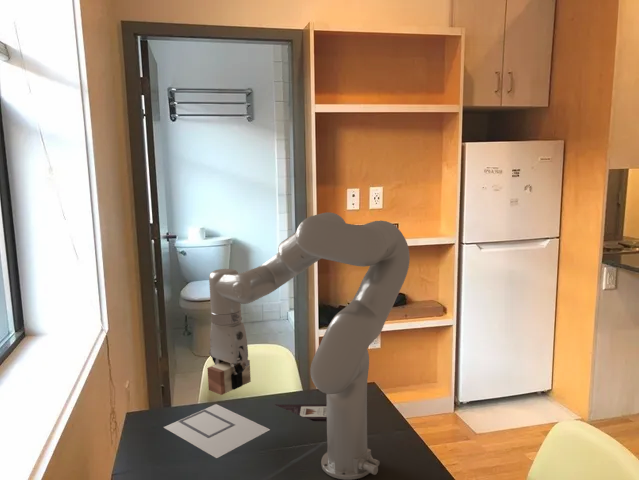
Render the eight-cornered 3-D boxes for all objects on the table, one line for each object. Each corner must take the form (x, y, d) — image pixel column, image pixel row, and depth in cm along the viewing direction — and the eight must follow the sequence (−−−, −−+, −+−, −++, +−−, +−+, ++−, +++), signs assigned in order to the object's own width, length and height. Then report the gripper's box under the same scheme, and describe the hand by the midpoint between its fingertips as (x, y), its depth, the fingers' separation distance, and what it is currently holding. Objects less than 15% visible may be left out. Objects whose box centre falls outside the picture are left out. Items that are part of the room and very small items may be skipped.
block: (238, 377, 142) (236, 356, 141) (250, 381, 139) (249, 360, 138) (208, 390, 134) (207, 367, 133) (221, 395, 131) (220, 372, 130)
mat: (270, 431, 142) (270, 429, 142) (216, 460, 129) (216, 457, 128) (216, 405, 158) (216, 403, 158) (163, 429, 144) (163, 426, 144)
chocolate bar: (271, 404, 157) (331, 404, 156) (271, 407, 157) (331, 407, 156) (267, 419, 148) (331, 419, 147) (267, 422, 148) (331, 422, 147)
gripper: (260, 319, 131) (263, 388, 134) (216, 309, 142) (219, 372, 145) (237, 327, 125) (241, 398, 128) (193, 315, 136) (197, 381, 139)
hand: (229, 384), depth 136 cm, fingers closed on block, 5 cm apart
